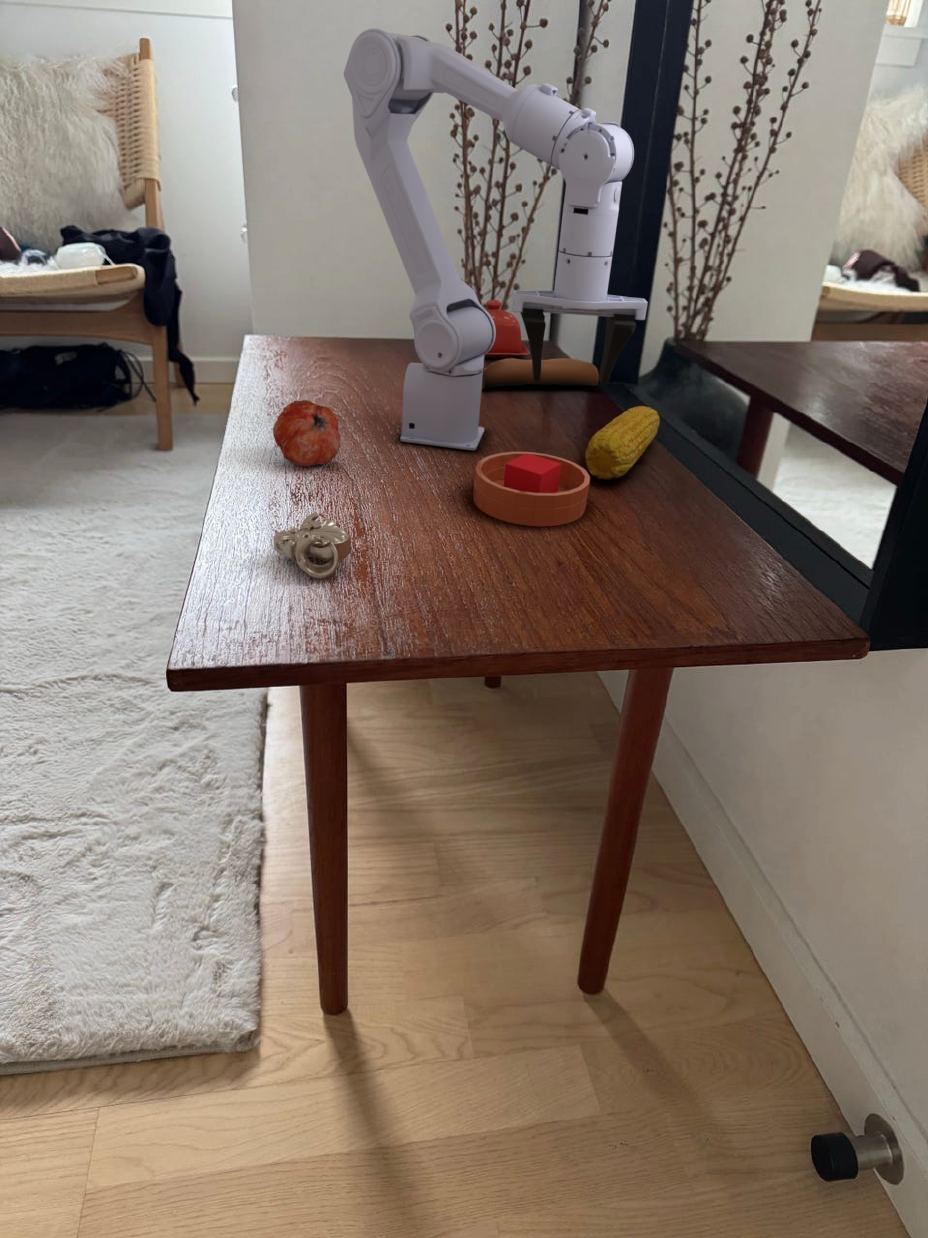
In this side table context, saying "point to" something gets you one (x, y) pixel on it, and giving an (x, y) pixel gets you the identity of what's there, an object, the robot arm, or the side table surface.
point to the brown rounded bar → (551, 373)
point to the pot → (530, 493)
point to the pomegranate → (307, 433)
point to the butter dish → (505, 333)
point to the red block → (532, 474)
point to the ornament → (314, 545)
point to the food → (621, 442)
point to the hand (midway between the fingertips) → (569, 380)
